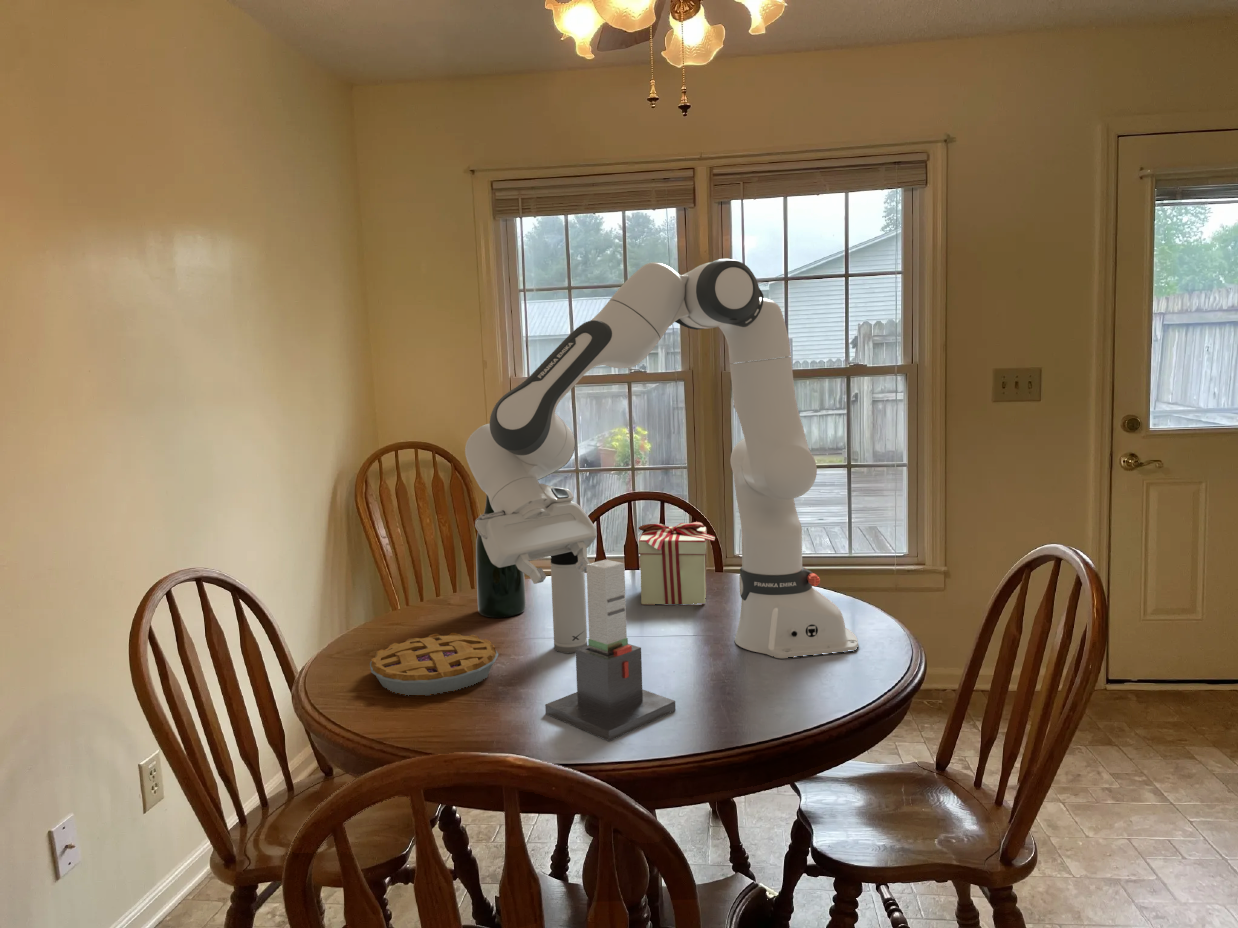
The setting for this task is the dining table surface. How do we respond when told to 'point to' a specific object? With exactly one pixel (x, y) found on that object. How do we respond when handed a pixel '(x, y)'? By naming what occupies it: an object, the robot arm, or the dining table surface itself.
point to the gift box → (673, 563)
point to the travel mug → (568, 603)
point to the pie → (434, 664)
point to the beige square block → (606, 606)
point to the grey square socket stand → (609, 695)
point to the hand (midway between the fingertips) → (564, 575)
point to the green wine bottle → (498, 583)
